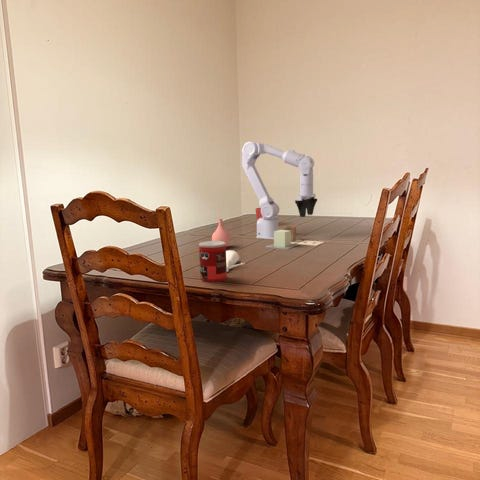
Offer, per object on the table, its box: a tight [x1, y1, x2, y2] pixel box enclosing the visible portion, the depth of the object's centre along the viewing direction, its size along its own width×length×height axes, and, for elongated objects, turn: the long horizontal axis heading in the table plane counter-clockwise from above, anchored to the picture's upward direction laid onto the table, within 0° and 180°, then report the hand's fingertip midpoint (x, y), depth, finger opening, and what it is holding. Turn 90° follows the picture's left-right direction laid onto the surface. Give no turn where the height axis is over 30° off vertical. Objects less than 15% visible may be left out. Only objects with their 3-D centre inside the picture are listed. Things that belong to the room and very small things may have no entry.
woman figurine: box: [226, 250, 246, 273], centre depth 147 cm, size 12×4×18 cm
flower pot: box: [255, 207, 263, 222], centre depth 234 cm, size 11×11×10 cm
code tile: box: [295, 239, 324, 246], centre depth 184 cm, size 9×9×1 cm
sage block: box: [273, 229, 292, 247], centre depth 177 cm, size 5×5×6 cm
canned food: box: [198, 240, 228, 283], centre depth 131 cm, size 8×8×11 cm
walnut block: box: [281, 225, 297, 242], centre depth 189 cm, size 5×5×6 cm
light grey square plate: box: [265, 243, 299, 251], centre depth 178 cm, size 10×10×1 cm
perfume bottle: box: [211, 218, 231, 247], centre depth 177 cm, size 8×8×12 cm
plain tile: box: [291, 239, 303, 244], centre depth 189 cm, size 9×9×1 cm
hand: (306, 215), depth 193 cm, fingers open, 7 cm apart
